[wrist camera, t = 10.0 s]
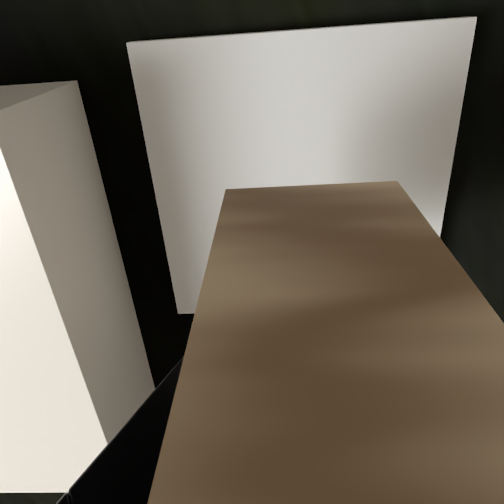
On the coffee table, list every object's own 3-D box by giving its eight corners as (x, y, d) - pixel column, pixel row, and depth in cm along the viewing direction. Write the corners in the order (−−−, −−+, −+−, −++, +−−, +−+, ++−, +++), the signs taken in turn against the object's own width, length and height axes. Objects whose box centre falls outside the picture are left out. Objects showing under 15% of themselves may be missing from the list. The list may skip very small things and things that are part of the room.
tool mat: (468, 16, 12) (477, 16, 12) (423, 297, 17) (428, 305, 17) (132, 41, 13) (125, 42, 13) (180, 304, 18) (177, 313, 18)
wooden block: (397, 181, 10) (878, 827, 2) (383, 318, 12) (601, 917, 4) (225, 189, 10) (75, 792, 2) (239, 322, 12) (182, 893, 4)
